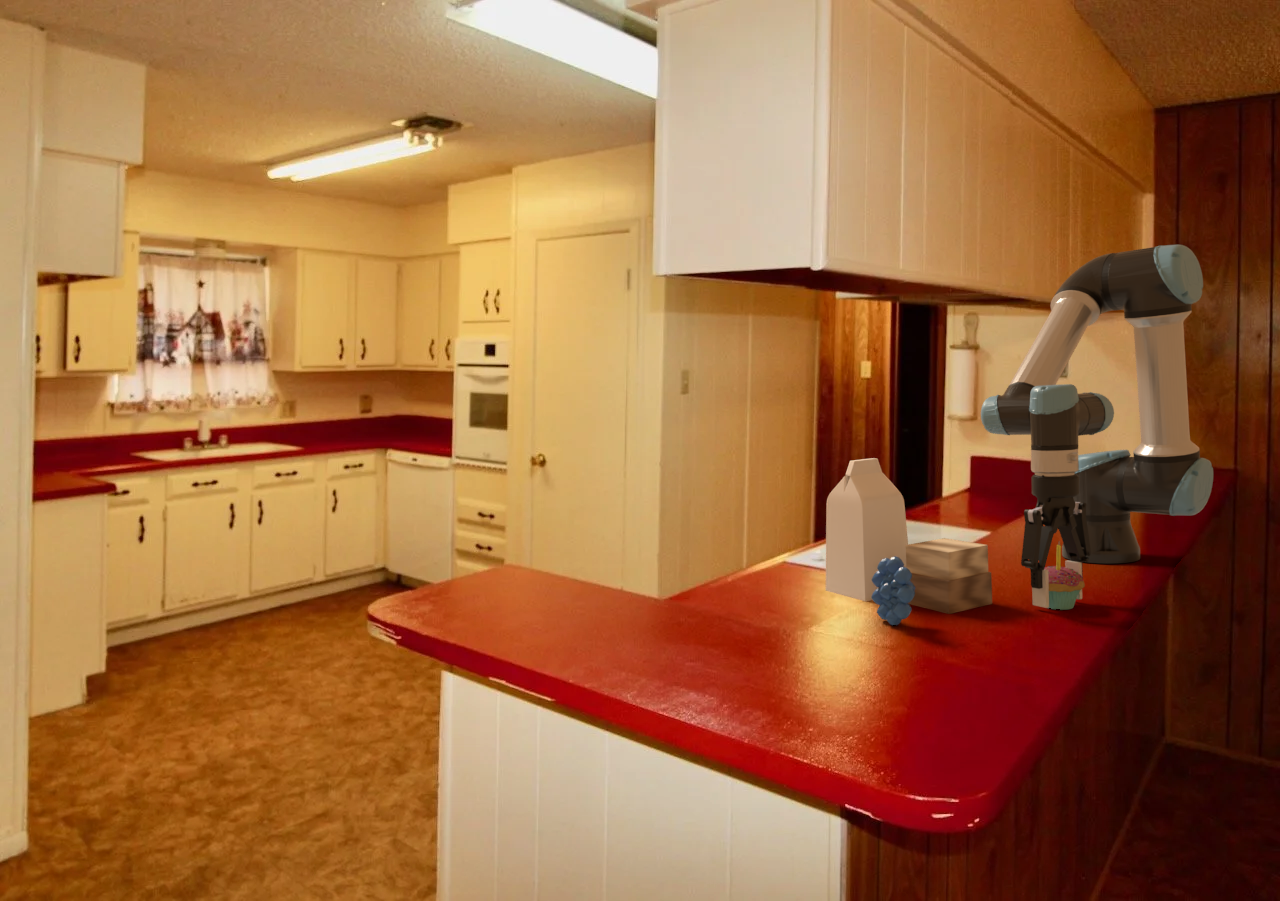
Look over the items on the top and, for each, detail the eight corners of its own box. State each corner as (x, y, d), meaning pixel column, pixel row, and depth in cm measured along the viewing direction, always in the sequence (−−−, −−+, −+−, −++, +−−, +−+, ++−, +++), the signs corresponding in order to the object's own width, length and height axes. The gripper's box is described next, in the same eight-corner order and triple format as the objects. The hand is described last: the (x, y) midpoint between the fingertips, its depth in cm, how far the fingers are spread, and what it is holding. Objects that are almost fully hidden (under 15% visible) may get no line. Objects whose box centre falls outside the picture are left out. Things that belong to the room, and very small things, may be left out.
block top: (945, 564, 169) (944, 538, 168) (988, 572, 160) (987, 545, 160) (906, 571, 164) (905, 545, 164) (948, 580, 155) (948, 552, 155)
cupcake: (1091, 612, 151) (1089, 543, 150) (1037, 612, 152) (1036, 543, 152) (1076, 600, 159) (1075, 534, 158) (1026, 600, 161) (1024, 535, 160)
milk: (865, 601, 167) (860, 463, 165) (825, 590, 177) (820, 460, 175) (912, 591, 172) (908, 458, 170) (871, 581, 182) (867, 455, 180)
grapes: (935, 631, 145) (933, 558, 144) (898, 635, 143) (896, 562, 143) (898, 614, 156) (896, 547, 155) (863, 618, 155) (861, 550, 154)
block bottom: (944, 594, 170) (943, 563, 169) (992, 605, 160) (991, 572, 160) (902, 603, 164) (901, 571, 164) (949, 615, 155) (948, 581, 154)
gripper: (1033, 480, 146) (1036, 616, 147) (1113, 469, 156) (1115, 596, 157) (995, 477, 152) (998, 607, 154) (1074, 466, 162) (1076, 588, 164)
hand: (1057, 601), depth 156 cm, fingers closed on cupcake, 8 cm apart
